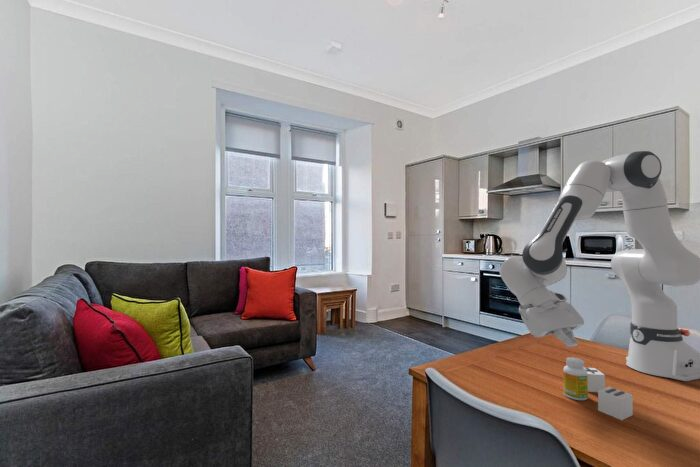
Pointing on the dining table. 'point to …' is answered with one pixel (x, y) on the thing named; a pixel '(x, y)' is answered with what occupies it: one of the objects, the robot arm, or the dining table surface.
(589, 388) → the marked block back
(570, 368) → the supplement bottle
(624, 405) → the marked block front
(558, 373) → the dining table surface
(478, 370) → the dining table surface
